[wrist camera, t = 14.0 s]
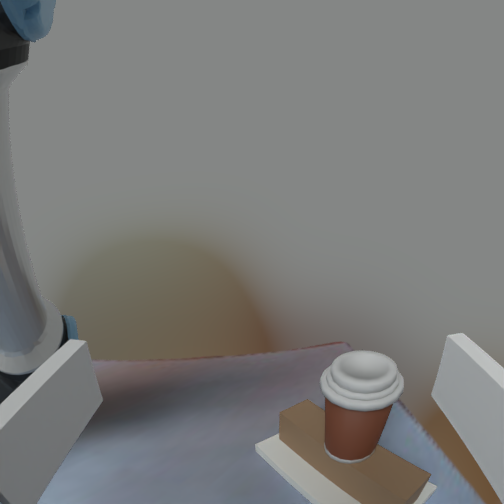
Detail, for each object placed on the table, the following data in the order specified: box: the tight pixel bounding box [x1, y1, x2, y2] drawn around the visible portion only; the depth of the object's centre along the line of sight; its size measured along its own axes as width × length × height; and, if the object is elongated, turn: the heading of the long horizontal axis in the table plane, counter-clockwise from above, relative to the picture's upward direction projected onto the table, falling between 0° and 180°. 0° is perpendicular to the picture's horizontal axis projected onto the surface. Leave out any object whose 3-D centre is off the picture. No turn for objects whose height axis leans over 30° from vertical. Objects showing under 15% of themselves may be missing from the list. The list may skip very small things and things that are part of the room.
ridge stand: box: [255, 399, 437, 504], centre depth 32 cm, size 24×12×7 cm, turn 32°
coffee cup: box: [320, 350, 404, 464], centre depth 30 cm, size 9×9×12 cm
